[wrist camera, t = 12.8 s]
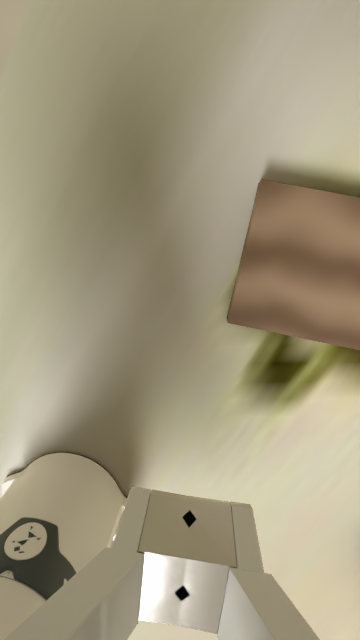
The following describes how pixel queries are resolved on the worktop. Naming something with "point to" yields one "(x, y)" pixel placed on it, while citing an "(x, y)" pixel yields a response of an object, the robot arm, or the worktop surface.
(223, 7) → the worktop surface
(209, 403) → the worktop surface
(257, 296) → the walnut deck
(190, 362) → the worktop surface
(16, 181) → the worktop surface
